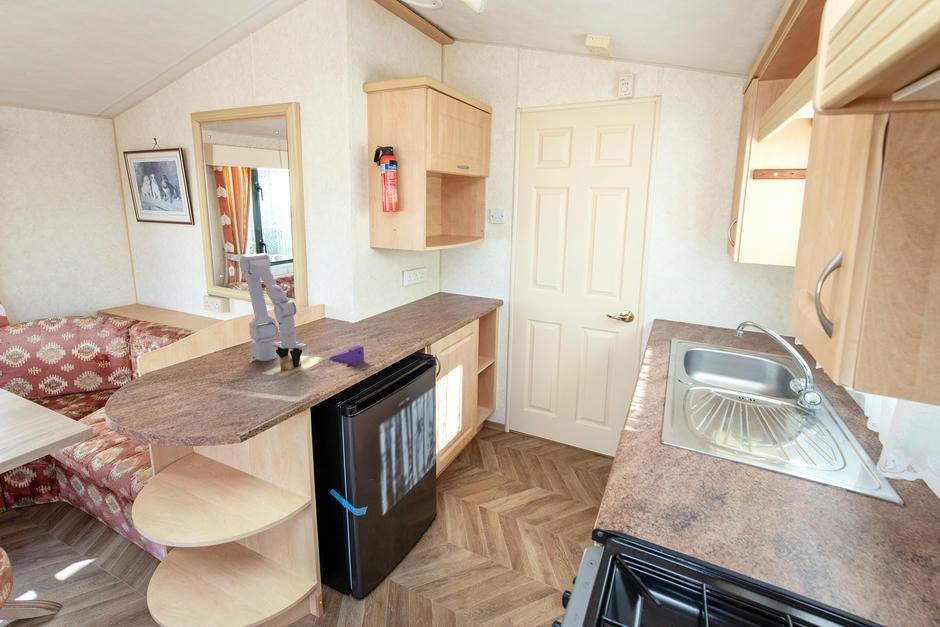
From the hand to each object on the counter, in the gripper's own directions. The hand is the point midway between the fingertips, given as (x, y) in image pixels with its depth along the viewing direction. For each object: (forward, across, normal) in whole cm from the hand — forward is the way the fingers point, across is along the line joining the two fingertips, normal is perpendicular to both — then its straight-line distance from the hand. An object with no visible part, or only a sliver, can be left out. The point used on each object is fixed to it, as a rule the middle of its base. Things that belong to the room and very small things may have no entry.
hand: (291, 366), depth 188 cm
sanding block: (+1, 0, 0) cm, 1 cm away
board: (+2, 0, +2) cm, 3 cm away
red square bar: (+2, +6, +16) cm, 17 cm away
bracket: (+2, +16, +14) cm, 22 cm away
